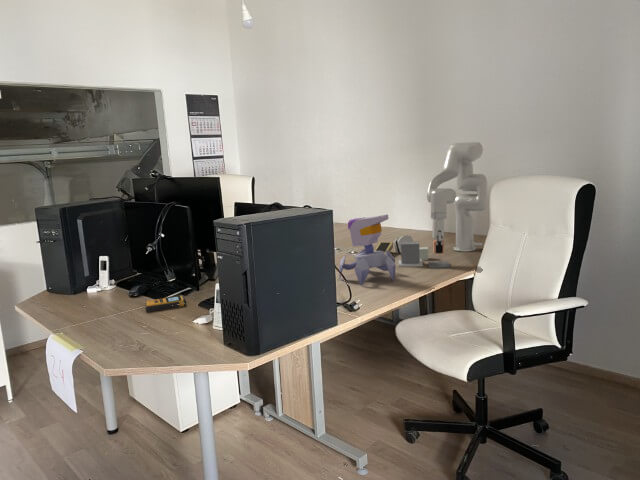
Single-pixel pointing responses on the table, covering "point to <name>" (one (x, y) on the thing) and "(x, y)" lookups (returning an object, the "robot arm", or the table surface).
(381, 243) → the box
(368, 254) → the robotic device
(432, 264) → the mat
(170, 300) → the electronic device
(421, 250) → the grey block
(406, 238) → the white curved block
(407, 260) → the mounted unit
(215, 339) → the table surface
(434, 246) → the terracotta block
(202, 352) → the table surface
